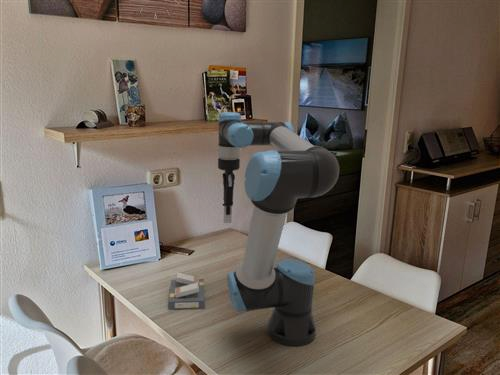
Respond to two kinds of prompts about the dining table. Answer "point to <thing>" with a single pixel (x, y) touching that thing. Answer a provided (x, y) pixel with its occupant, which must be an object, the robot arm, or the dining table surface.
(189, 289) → the rocker front
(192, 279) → the rocker rear
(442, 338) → the dining table surface
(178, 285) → the switch unit
